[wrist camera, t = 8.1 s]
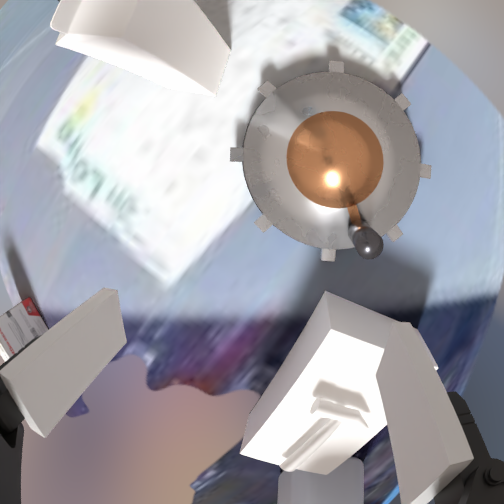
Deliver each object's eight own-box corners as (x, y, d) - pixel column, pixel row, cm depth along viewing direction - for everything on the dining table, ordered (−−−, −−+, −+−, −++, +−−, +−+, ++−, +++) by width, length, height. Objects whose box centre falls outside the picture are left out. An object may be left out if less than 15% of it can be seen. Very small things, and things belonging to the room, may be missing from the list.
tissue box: (416, 328, 33) (445, 380, 23) (326, 435, 42) (326, 486, 32) (325, 289, 34) (332, 343, 24) (249, 412, 42) (236, 465, 32)
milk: (231, 50, 27) (139, -69, 6) (216, 97, 29) (89, 19, 8) (183, 45, 27) (61, -45, 6) (168, 90, 29) (20, 36, 8)
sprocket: (212, 107, 28) (189, 94, 22) (382, 53, 23) (400, 29, 17) (277, 273, 33) (271, 301, 26) (438, 221, 28) (467, 237, 21)
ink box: (21, 301, 45) (-17, 327, 34) (30, 295, 43) (-11, 323, 32) (42, 338, 47) (7, 367, 36) (51, 334, 45) (14, 366, 34)
